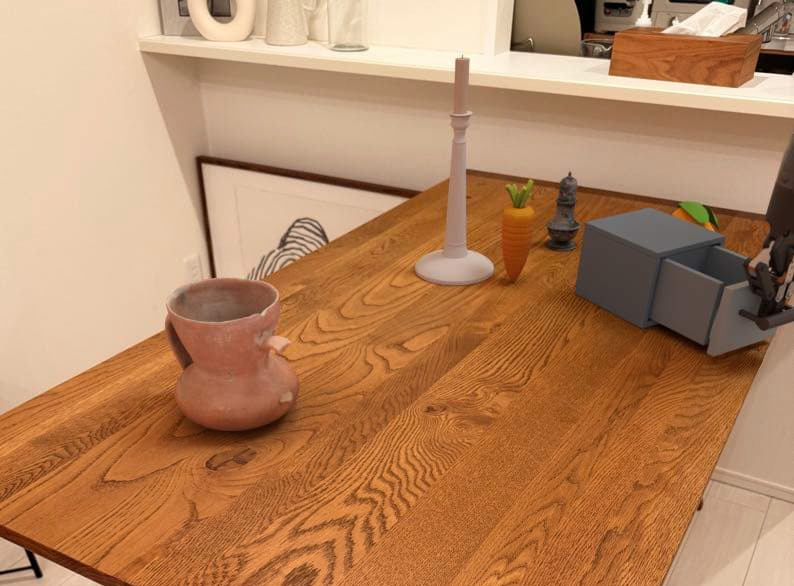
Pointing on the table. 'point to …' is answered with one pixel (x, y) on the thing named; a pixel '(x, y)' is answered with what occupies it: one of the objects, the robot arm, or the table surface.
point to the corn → (696, 214)
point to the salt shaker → (564, 217)
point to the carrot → (517, 230)
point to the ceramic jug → (229, 354)
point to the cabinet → (633, 259)
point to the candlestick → (456, 205)
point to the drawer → (711, 300)
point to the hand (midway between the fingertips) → (765, 326)
